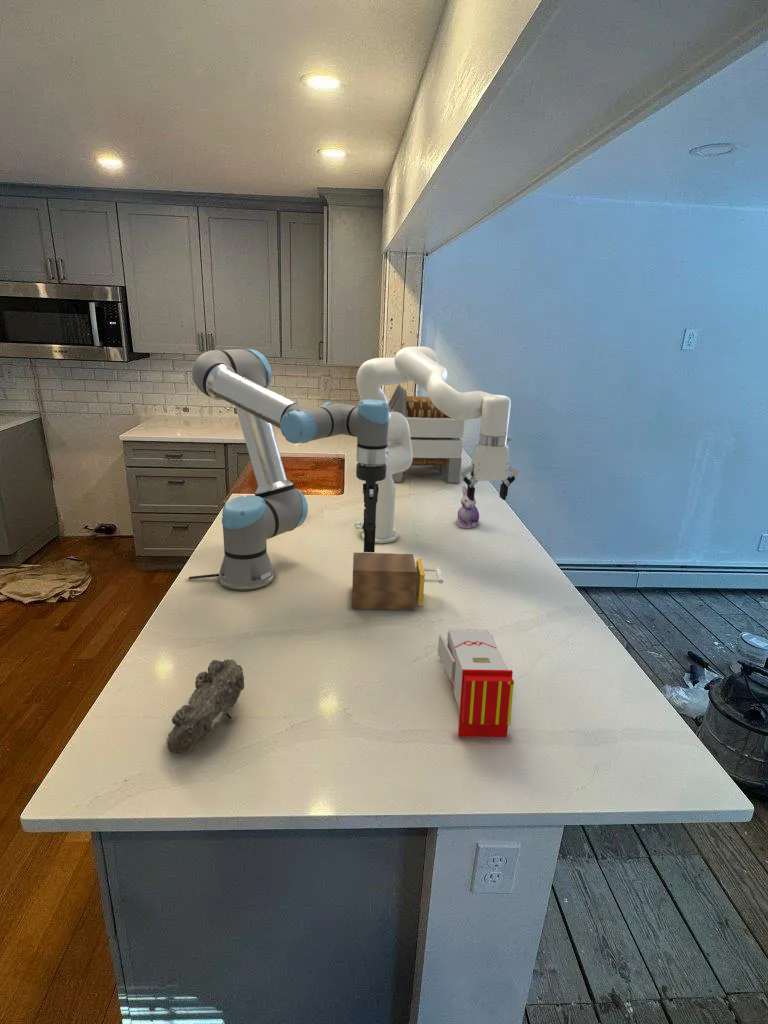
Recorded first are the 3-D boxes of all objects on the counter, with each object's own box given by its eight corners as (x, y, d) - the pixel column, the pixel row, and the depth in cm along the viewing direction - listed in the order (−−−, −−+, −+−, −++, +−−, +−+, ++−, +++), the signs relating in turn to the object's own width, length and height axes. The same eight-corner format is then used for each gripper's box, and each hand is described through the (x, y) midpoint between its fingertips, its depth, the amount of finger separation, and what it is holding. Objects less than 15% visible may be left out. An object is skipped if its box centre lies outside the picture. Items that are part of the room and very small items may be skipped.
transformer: (382, 463, 289) (386, 382, 275) (445, 464, 293) (451, 384, 279) (390, 482, 257) (394, 392, 243) (460, 483, 261) (468, 394, 247)
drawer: (437, 588, 160) (439, 559, 157) (442, 606, 150) (444, 575, 147) (365, 586, 159) (366, 557, 156) (365, 604, 149) (366, 573, 146)
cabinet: (410, 590, 160) (413, 553, 157) (414, 610, 150) (416, 571, 146) (352, 588, 160) (353, 552, 156) (351, 608, 149) (352, 570, 145)
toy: (488, 613, 130) (523, 677, 101) (484, 667, 133) (517, 744, 104) (435, 612, 130) (455, 676, 101) (432, 666, 133) (451, 743, 103)
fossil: (192, 660, 117) (244, 628, 112) (224, 691, 120) (276, 661, 115) (142, 746, 98) (202, 712, 93) (182, 779, 101) (242, 748, 96)
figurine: (465, 530, 205) (468, 491, 200) (449, 521, 213) (452, 483, 208) (486, 527, 209) (490, 488, 204) (469, 518, 218) (473, 480, 213)
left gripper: (389, 477, 130) (384, 561, 138) (384, 451, 154) (381, 524, 161) (356, 476, 130) (354, 560, 137) (356, 450, 153) (354, 523, 161)
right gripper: (516, 437, 163) (509, 494, 168) (458, 437, 159) (453, 495, 165) (527, 443, 156) (520, 502, 161) (467, 443, 152) (462, 503, 158)
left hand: (368, 541), depth 149 cm, fingers open, 13 cm apart
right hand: (486, 498), depth 163 cm, fingers open, 9 cm apart
